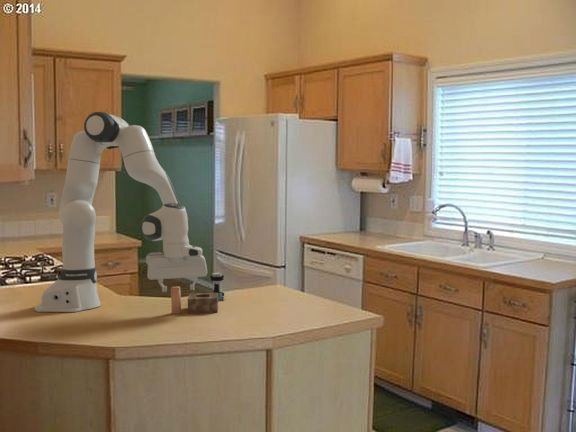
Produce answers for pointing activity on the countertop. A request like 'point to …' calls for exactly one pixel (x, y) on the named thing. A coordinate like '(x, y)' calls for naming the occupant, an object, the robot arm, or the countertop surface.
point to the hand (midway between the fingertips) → (178, 290)
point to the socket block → (203, 303)
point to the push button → (218, 284)
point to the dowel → (176, 300)
